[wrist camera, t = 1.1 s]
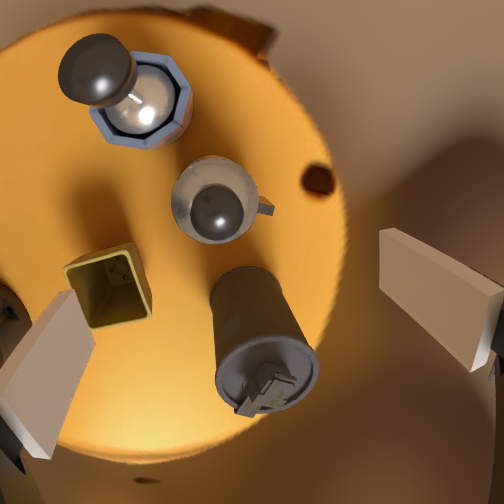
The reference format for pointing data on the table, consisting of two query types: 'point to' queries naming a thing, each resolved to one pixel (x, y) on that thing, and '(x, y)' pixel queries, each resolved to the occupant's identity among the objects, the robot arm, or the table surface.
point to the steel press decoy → (216, 200)
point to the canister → (258, 345)
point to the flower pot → (110, 287)
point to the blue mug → (175, 121)
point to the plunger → (116, 84)
